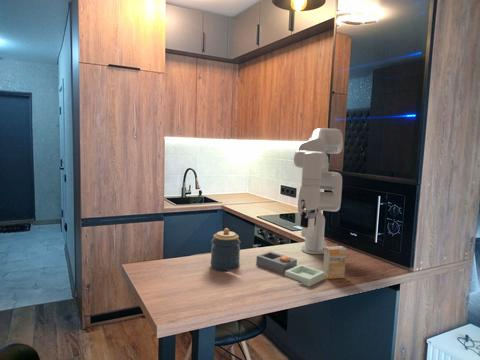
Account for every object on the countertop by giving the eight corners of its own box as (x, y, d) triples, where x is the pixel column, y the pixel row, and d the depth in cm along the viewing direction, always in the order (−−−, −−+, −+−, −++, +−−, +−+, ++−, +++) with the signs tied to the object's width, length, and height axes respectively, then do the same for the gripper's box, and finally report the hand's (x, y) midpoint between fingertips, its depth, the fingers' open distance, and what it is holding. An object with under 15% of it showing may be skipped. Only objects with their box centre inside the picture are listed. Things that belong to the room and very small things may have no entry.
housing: (269, 261, 170) (270, 251, 170) (296, 270, 160) (296, 259, 160) (256, 266, 163) (256, 255, 163) (283, 276, 153) (283, 264, 152)
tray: (300, 270, 160) (300, 264, 160) (324, 278, 152) (324, 271, 152) (284, 277, 151) (284, 270, 151) (309, 286, 143) (309, 279, 143)
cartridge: (305, 233, 153) (306, 210, 152) (316, 236, 150) (317, 212, 148) (298, 235, 149) (300, 212, 148) (309, 238, 146) (311, 214, 145)
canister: (236, 273, 154) (237, 233, 151) (206, 270, 156) (208, 230, 154) (241, 263, 166) (243, 226, 164) (214, 260, 169) (216, 223, 167)
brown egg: (283, 265, 162) (283, 255, 161) (291, 268, 159) (292, 258, 158) (277, 268, 158) (277, 257, 158) (285, 270, 156) (286, 260, 155)
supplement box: (327, 279, 151) (329, 249, 150) (321, 275, 156) (324, 246, 154) (344, 278, 154) (347, 248, 152) (338, 274, 158) (341, 245, 157)
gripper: (314, 180, 156) (311, 221, 158) (291, 182, 143) (288, 227, 145) (329, 182, 151) (326, 224, 153) (307, 185, 138) (304, 231, 140)
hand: (308, 225), depth 149 cm, fingers closed on cartridge, 5 cm apart
